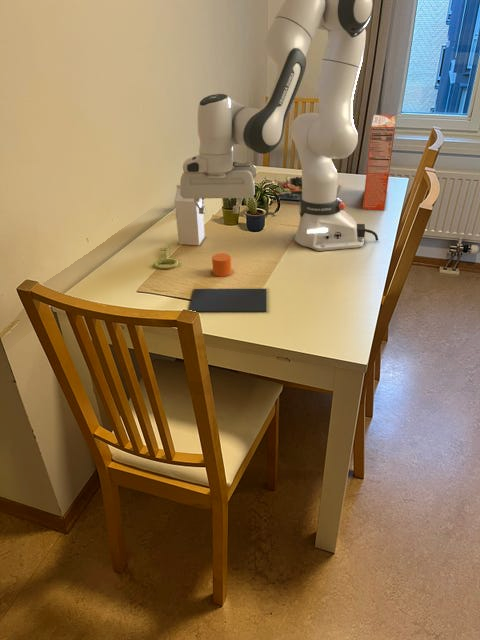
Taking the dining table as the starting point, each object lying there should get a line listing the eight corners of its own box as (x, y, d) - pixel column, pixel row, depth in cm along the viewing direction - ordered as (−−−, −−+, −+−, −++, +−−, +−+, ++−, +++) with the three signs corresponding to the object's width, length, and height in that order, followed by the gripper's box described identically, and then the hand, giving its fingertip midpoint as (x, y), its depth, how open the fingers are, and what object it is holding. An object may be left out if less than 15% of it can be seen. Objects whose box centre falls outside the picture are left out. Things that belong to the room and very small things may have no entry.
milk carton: (199, 245, 166) (194, 189, 156) (178, 244, 167) (173, 188, 157) (204, 237, 171) (201, 182, 161) (184, 236, 173) (179, 181, 163)
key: (168, 251, 162) (168, 245, 161) (180, 266, 152) (179, 260, 151) (147, 256, 160) (146, 249, 158) (157, 271, 150) (156, 265, 149)
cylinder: (232, 268, 150) (231, 253, 148) (230, 276, 146) (230, 260, 143) (213, 268, 151) (212, 253, 148) (212, 276, 146) (211, 261, 143)
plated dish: (244, 200, 204) (244, 182, 200) (262, 181, 227) (262, 165, 223) (330, 207, 195) (332, 188, 191) (339, 187, 218) (341, 170, 214)
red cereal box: (365, 190, 210) (373, 114, 194) (385, 191, 208) (395, 115, 193) (362, 208, 191) (371, 126, 176) (384, 210, 190) (395, 127, 174)
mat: (266, 289, 138) (266, 288, 138) (266, 312, 128) (266, 310, 128) (194, 290, 139) (194, 288, 139) (188, 312, 129) (188, 310, 129)
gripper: (256, 159, 133) (256, 209, 141) (180, 159, 134) (184, 209, 142) (255, 165, 128) (256, 216, 135) (176, 165, 129) (181, 217, 136)
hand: (218, 213), depth 139 cm, fingers open, 8 cm apart
